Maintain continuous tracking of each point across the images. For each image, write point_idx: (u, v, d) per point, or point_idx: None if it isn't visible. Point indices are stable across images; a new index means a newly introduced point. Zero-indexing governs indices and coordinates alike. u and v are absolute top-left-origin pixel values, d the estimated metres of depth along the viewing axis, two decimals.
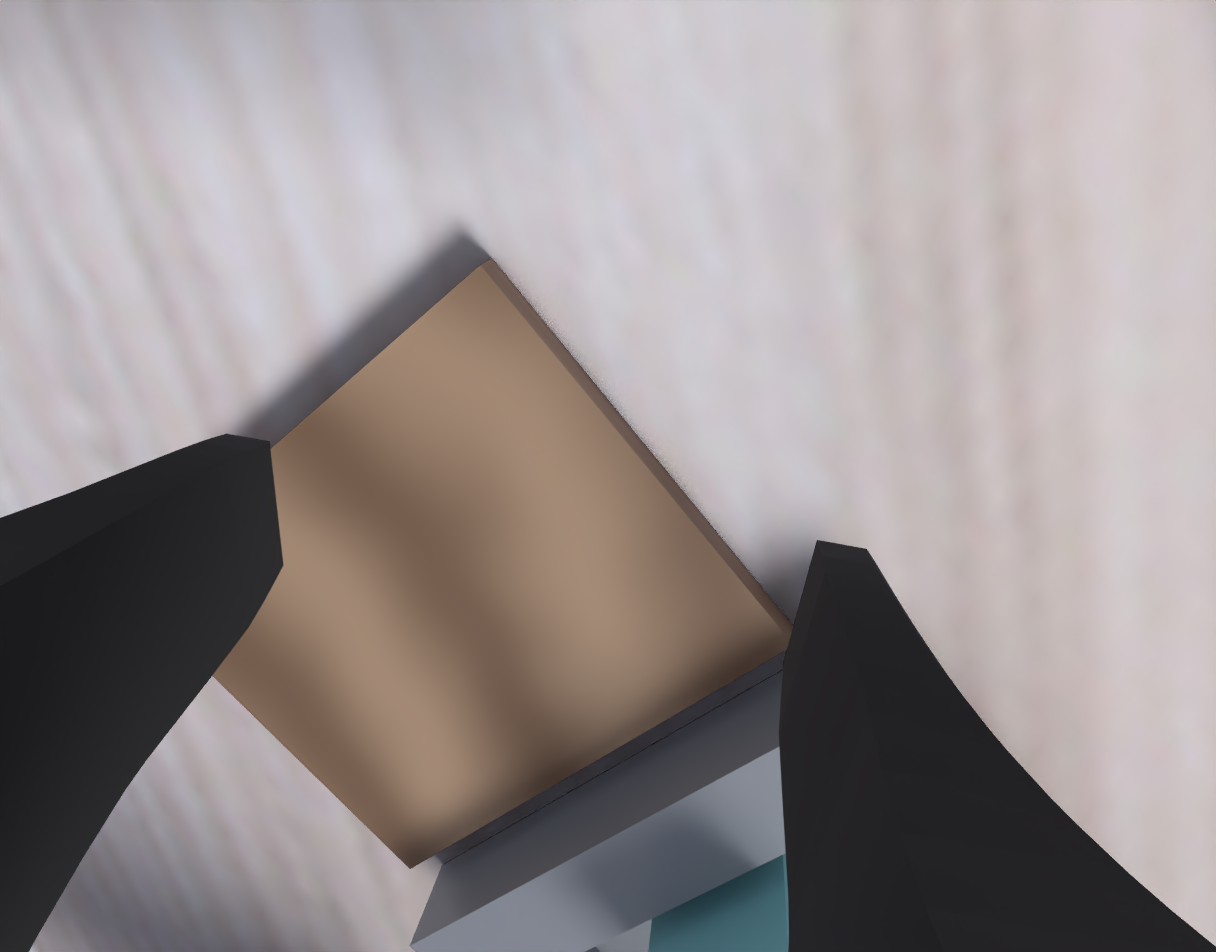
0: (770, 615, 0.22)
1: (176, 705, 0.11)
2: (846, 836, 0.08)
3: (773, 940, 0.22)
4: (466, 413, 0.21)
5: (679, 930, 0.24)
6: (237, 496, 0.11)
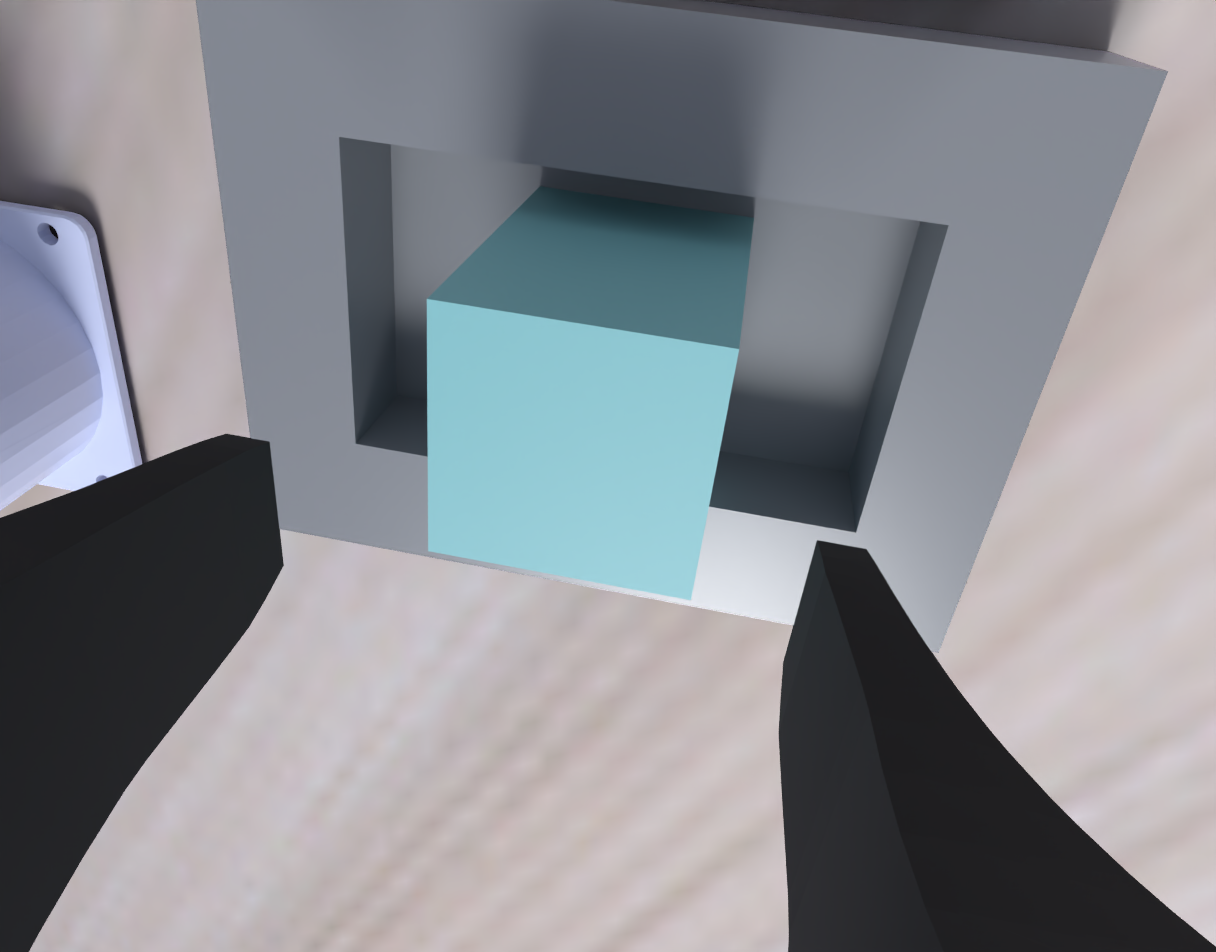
0: None
1: (176, 705, 0.11)
2: (846, 836, 0.08)
3: (722, 273, 0.15)
4: None
5: (568, 220, 0.17)
6: (237, 496, 0.11)
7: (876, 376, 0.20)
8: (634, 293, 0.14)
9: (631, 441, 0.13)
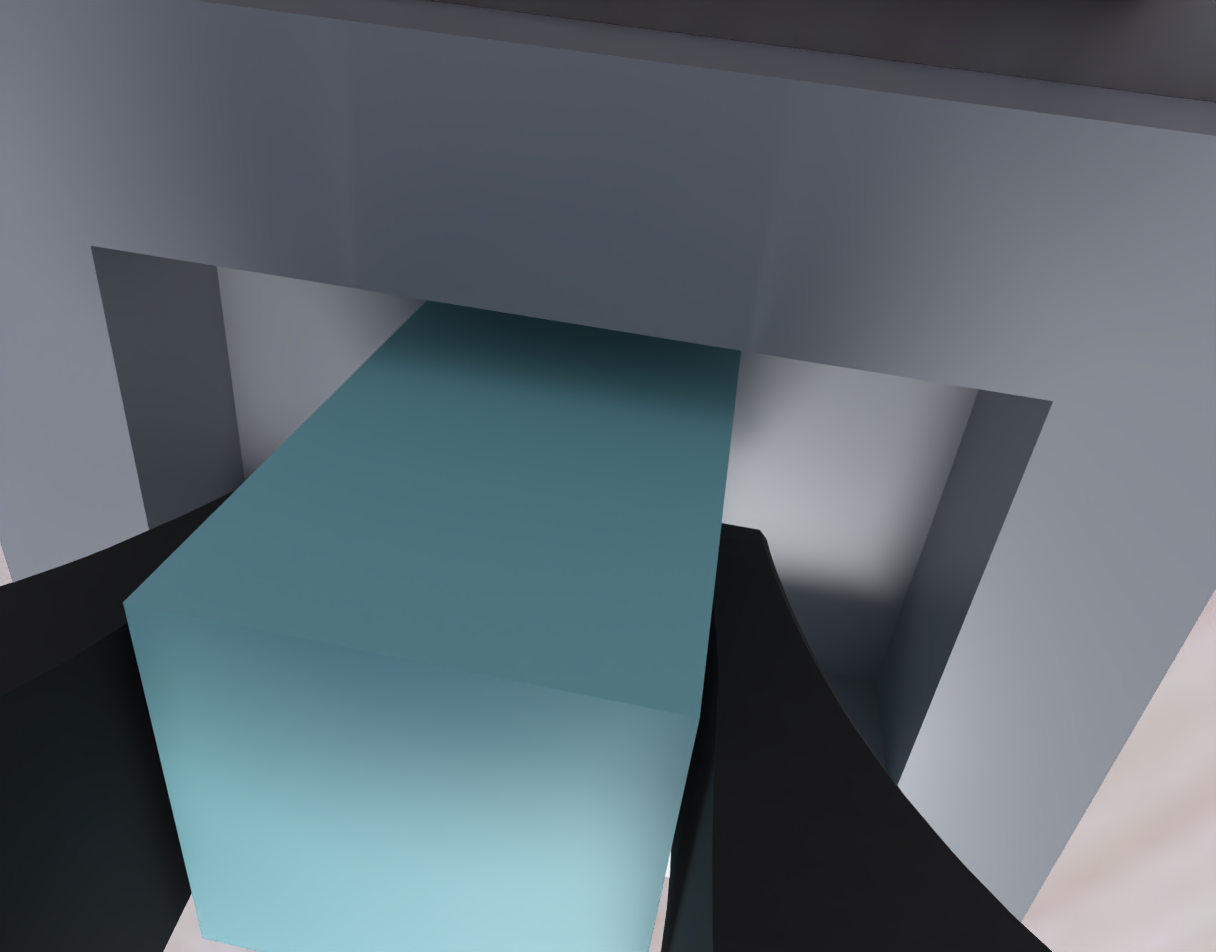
0: None
1: None
2: (696, 805, 0.08)
3: (685, 484, 0.09)
4: None
5: (453, 371, 0.11)
6: None
7: (918, 564, 0.14)
8: (523, 551, 0.08)
9: (513, 832, 0.08)
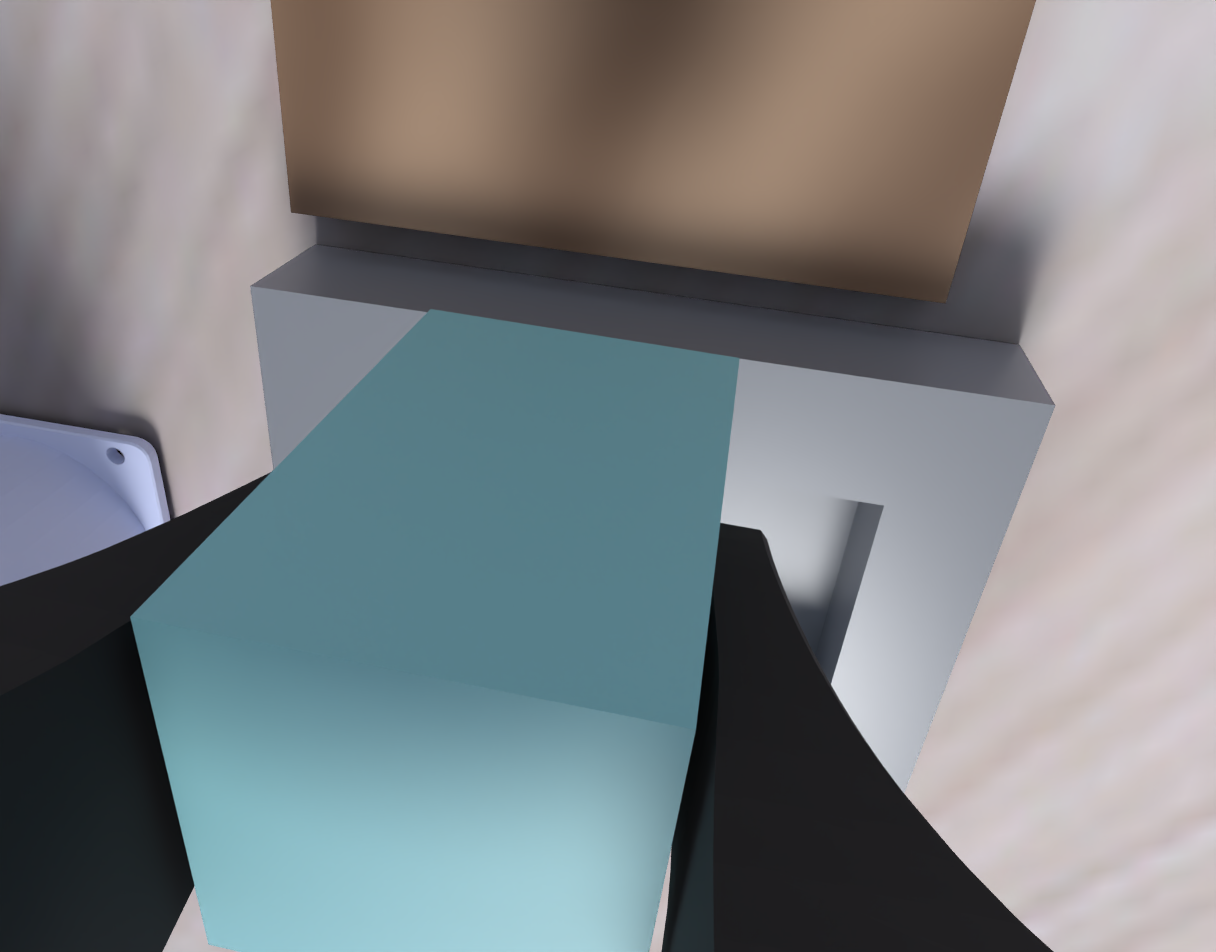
0: (959, 254, 0.18)
1: None
2: (697, 805, 0.08)
3: (682, 496, 0.09)
4: None
5: (455, 382, 0.11)
6: None
7: (835, 585, 0.23)
8: (524, 563, 0.08)
9: (514, 841, 0.08)
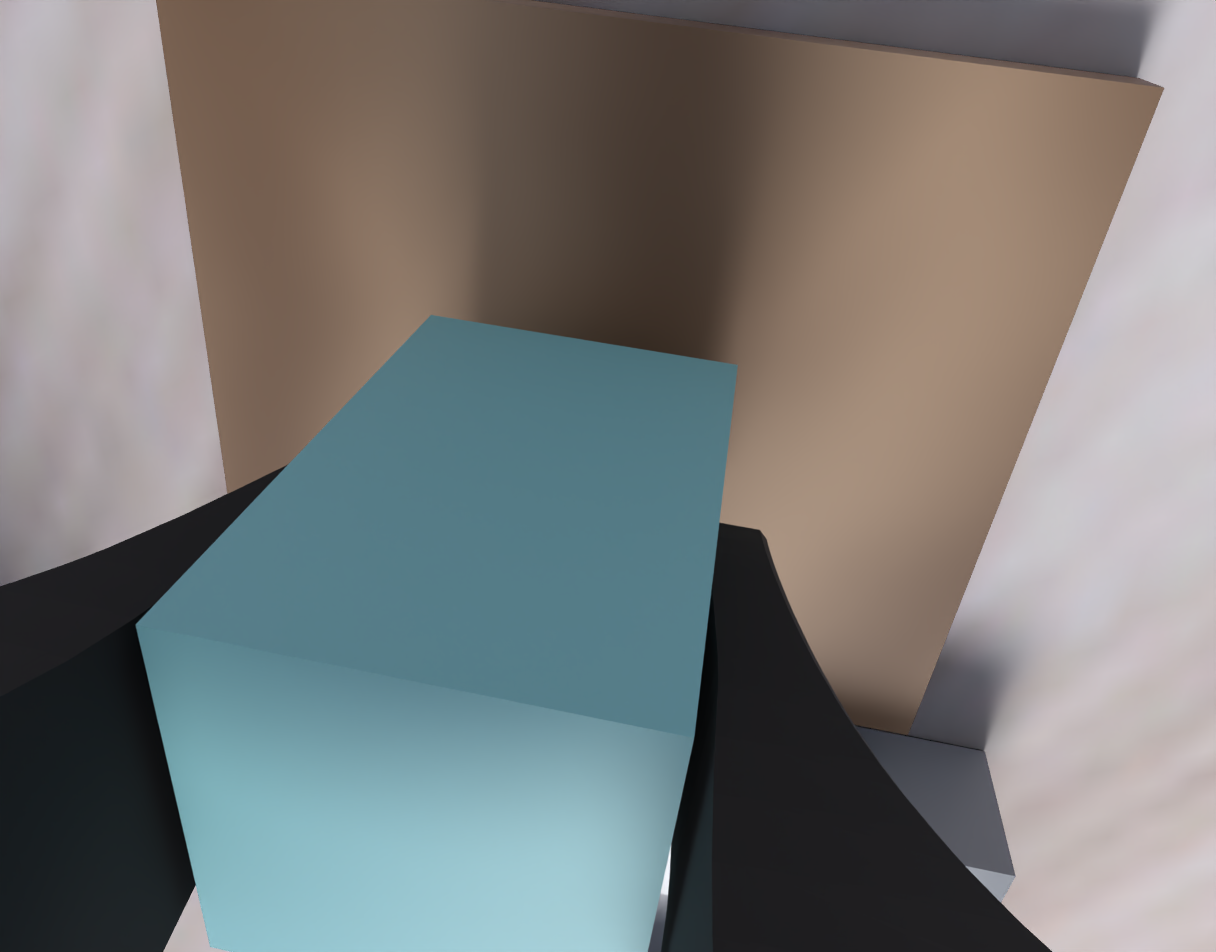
0: (921, 696, 0.17)
1: None
2: (696, 805, 0.08)
3: (681, 504, 0.09)
4: (906, 238, 0.13)
5: (455, 389, 0.11)
6: None
7: None
8: (524, 570, 0.08)
9: (514, 846, 0.08)
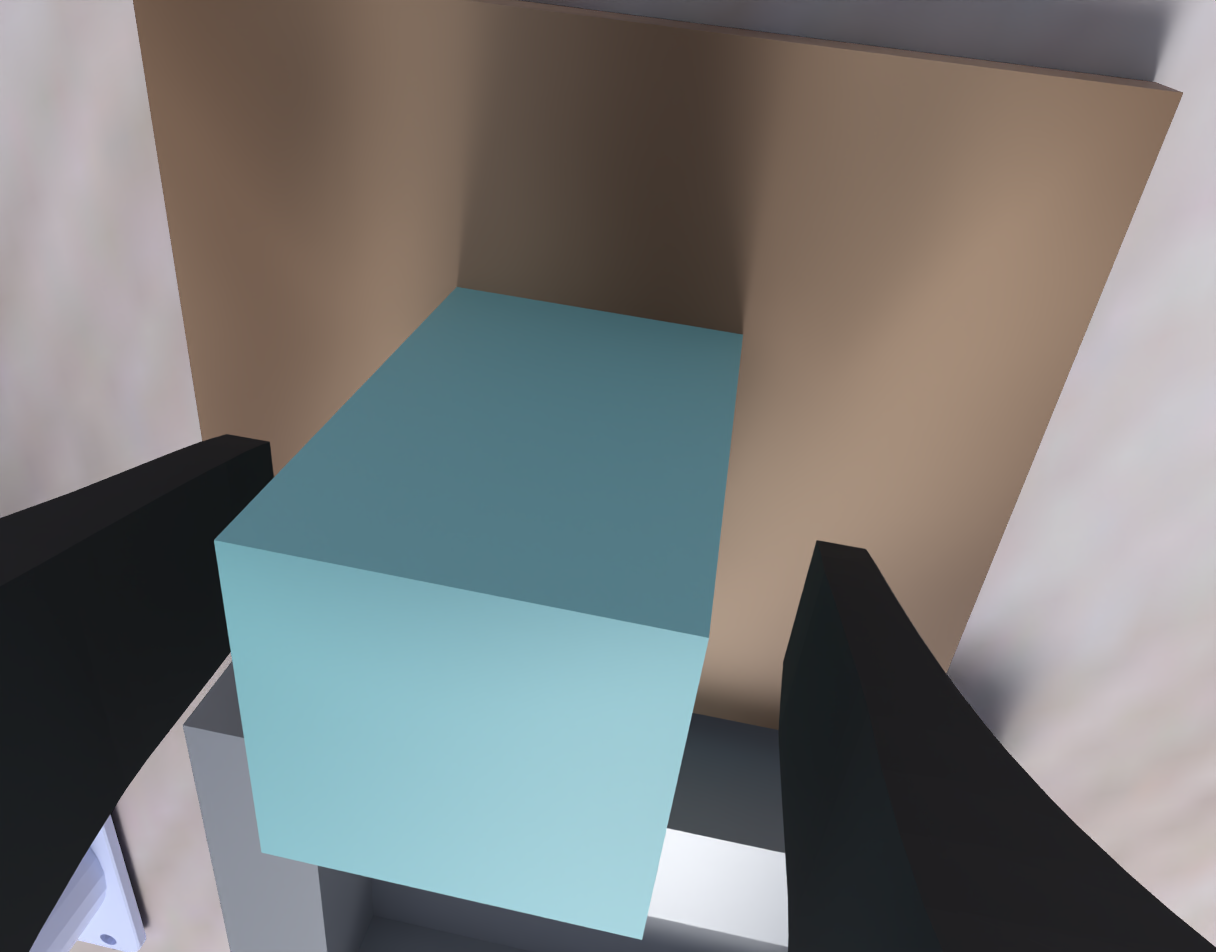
0: None
1: (176, 705, 0.11)
2: (846, 836, 0.08)
3: (694, 450, 0.10)
4: (912, 249, 0.13)
5: (483, 351, 0.12)
6: (237, 496, 0.11)
7: None
8: (554, 504, 0.09)
9: (546, 745, 0.09)
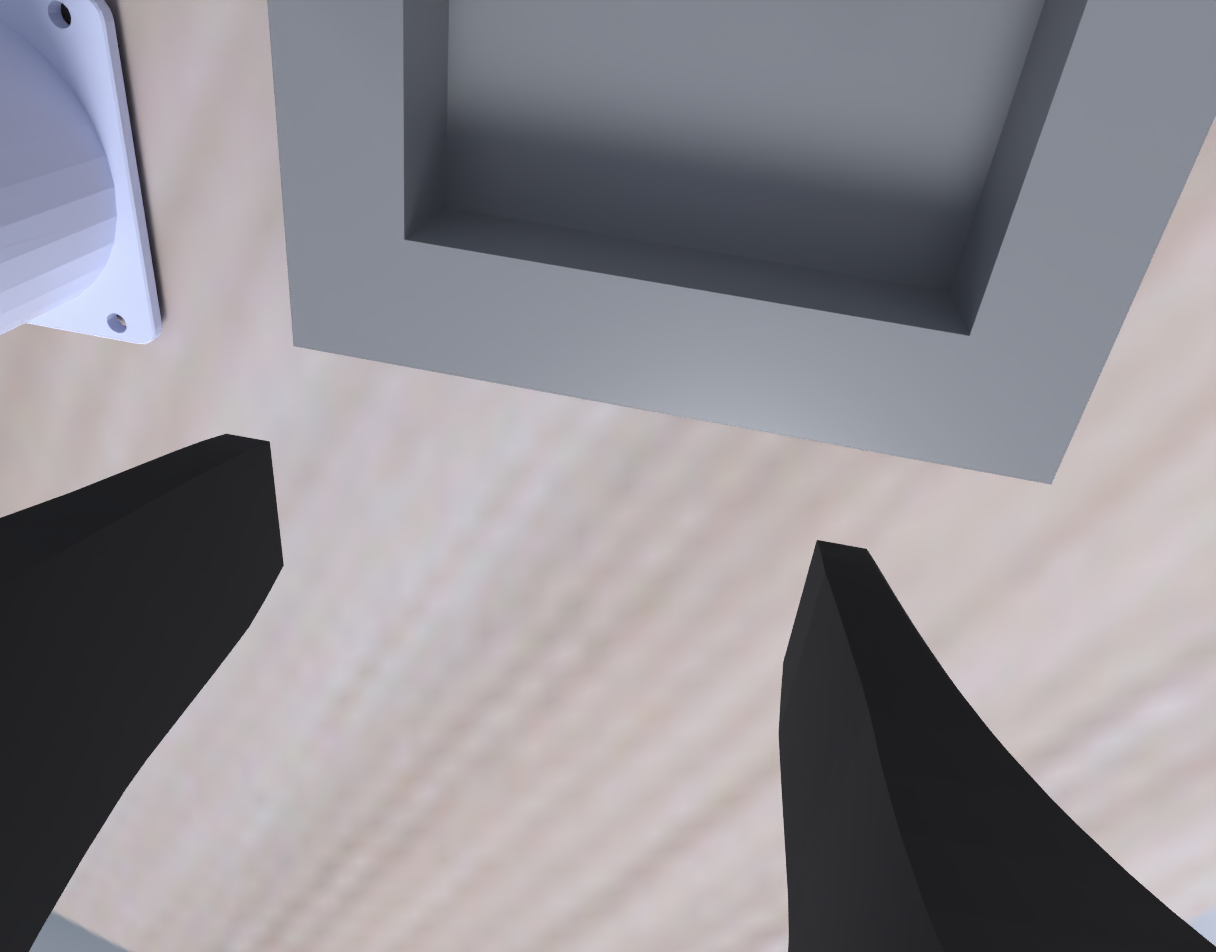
0: None
1: (176, 705, 0.11)
2: (846, 836, 0.08)
3: None
4: None
5: None
6: (237, 496, 0.11)
7: (989, 170, 0.17)
8: None
9: None
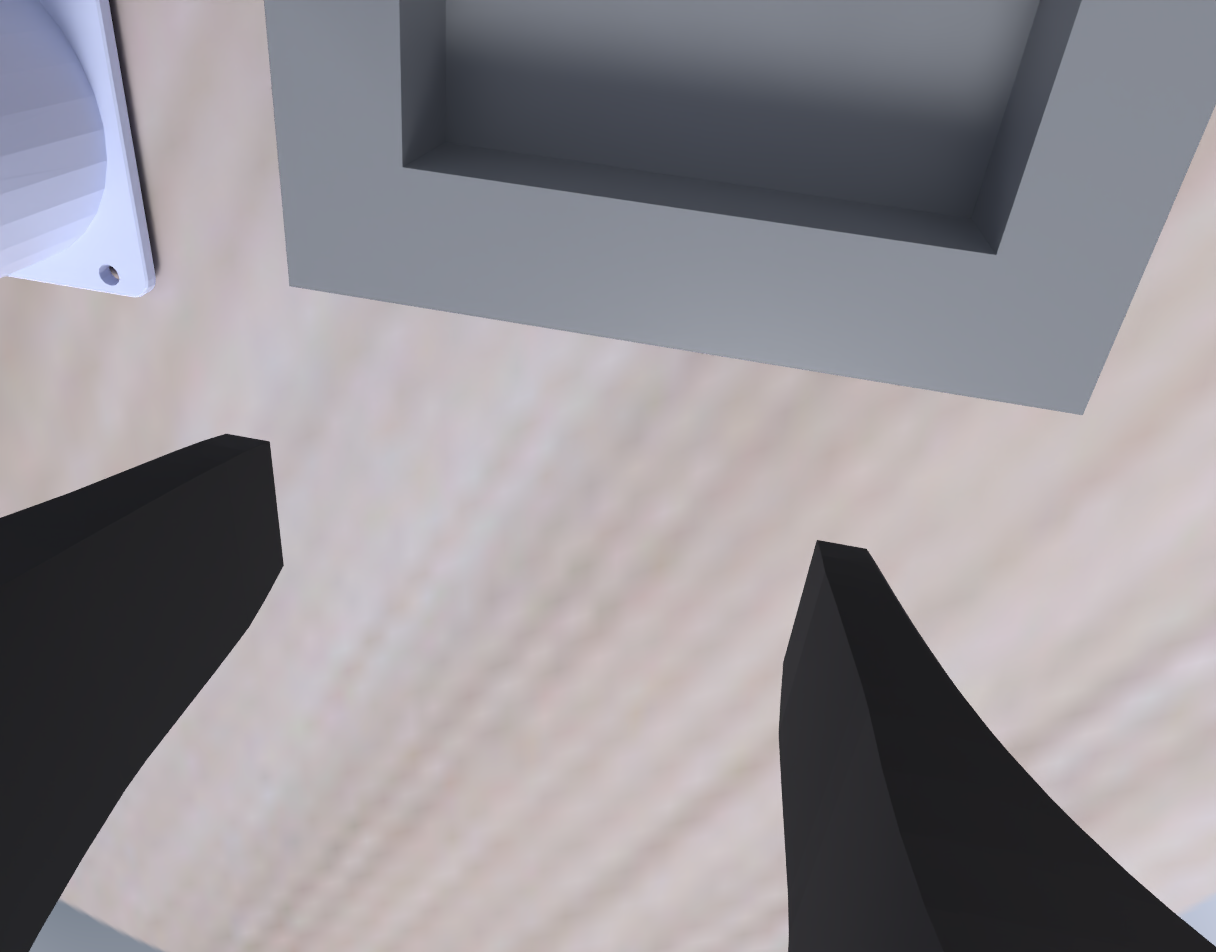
0: None
1: (176, 705, 0.11)
2: (846, 836, 0.08)
3: None
4: None
5: None
6: (237, 496, 0.11)
7: (1014, 84, 0.17)
8: None
9: None
